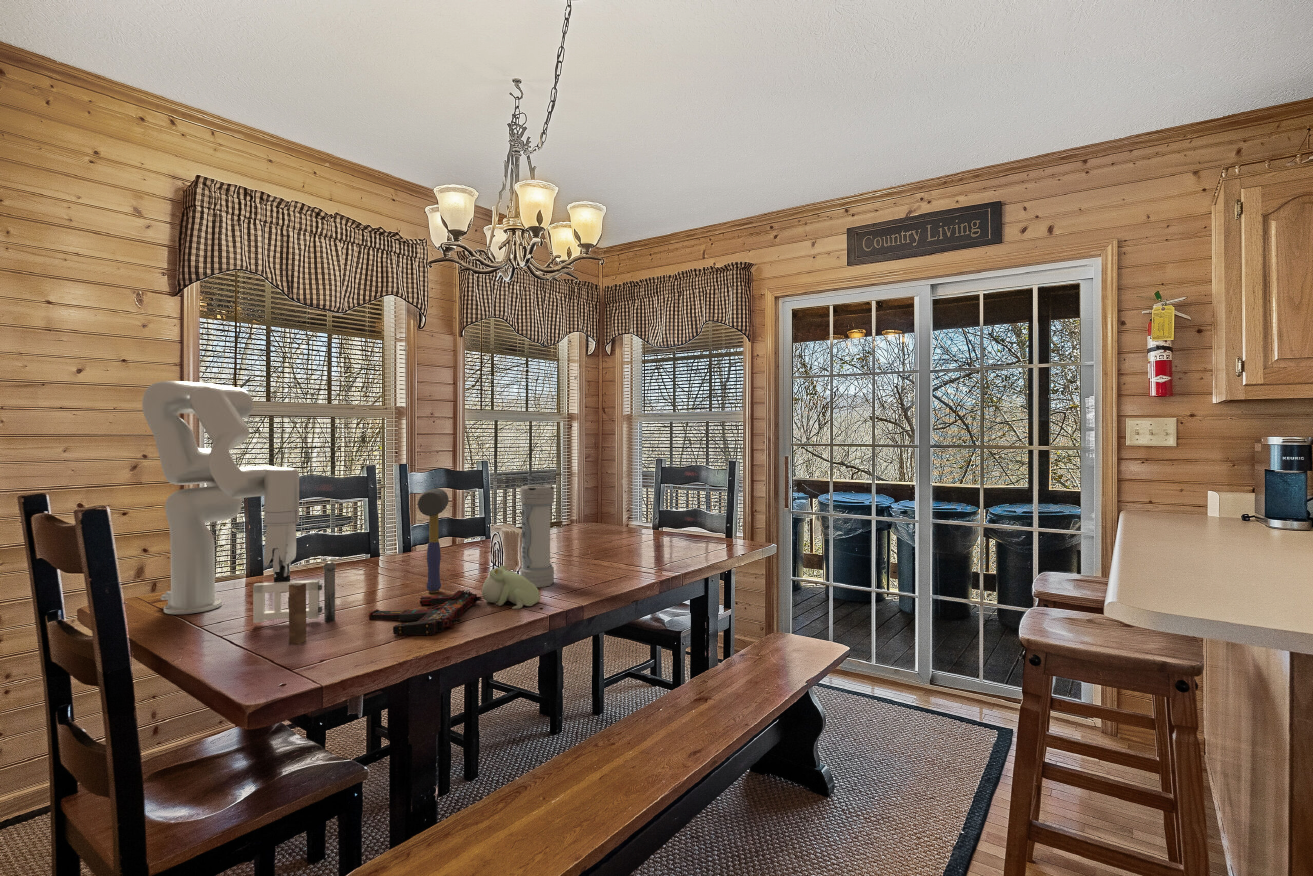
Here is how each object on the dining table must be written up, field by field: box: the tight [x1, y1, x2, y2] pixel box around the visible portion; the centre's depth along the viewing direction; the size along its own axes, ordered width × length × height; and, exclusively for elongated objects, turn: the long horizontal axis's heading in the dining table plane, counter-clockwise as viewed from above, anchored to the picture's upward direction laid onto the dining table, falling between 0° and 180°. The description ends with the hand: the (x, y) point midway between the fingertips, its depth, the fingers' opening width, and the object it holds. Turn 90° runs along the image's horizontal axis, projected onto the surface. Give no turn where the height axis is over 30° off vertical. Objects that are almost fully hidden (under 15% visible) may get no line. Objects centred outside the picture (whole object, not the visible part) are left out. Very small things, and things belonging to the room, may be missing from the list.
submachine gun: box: [368, 589, 484, 636], centre depth 171 cm, size 34×4×25 cm
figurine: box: [481, 564, 541, 610], centre depth 182 cm, size 10×16×10 cm, turn 75°
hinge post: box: [322, 561, 337, 623], centre depth 165 cm, size 3×3×15 cm
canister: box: [520, 484, 555, 589], centre depth 204 cm, size 10×10×30 cm
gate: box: [252, 579, 323, 624], centre depth 162 cm, size 2×15×9 cm, turn 106°
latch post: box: [287, 583, 307, 645], centre depth 148 cm, size 3×2×13 cm
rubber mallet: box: [417, 488, 450, 593], centre depth 193 cm, size 12×8×30 cm, turn 9°
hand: (282, 591), depth 165 cm, fingers closed
